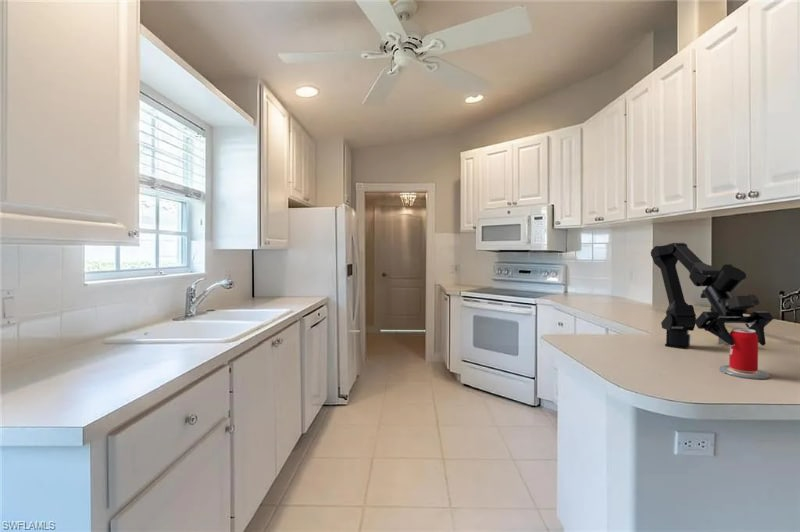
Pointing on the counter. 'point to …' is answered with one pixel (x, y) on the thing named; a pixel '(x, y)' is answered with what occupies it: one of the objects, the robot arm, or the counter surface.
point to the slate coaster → (754, 375)
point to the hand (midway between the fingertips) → (748, 344)
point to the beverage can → (744, 350)
